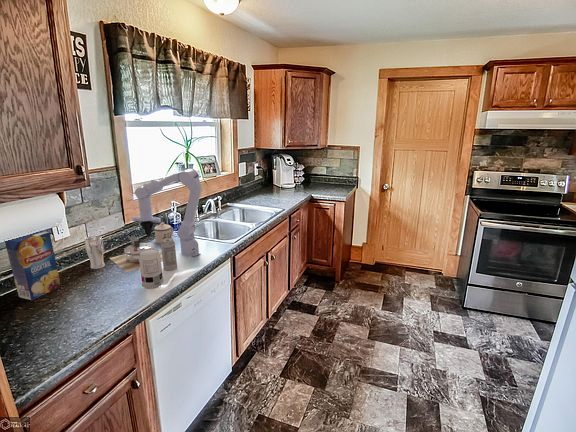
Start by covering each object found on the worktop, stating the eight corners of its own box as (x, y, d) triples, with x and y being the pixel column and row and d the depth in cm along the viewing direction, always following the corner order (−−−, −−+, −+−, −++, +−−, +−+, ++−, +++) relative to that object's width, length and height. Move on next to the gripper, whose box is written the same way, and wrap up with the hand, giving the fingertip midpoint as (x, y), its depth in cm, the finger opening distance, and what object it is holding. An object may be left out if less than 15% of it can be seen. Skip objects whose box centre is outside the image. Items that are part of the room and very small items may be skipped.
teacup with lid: (164, 246, 182) (162, 226, 179) (152, 243, 186) (149, 223, 183) (179, 239, 193) (177, 220, 189) (167, 237, 196) (165, 218, 193)
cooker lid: (158, 250, 162) (157, 244, 161) (128, 257, 153) (127, 250, 152) (146, 239, 176) (146, 233, 175) (118, 245, 168) (118, 239, 167)
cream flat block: (159, 261, 161) (158, 252, 159) (130, 267, 153) (129, 258, 152) (149, 248, 176) (148, 240, 174) (122, 254, 168) (121, 246, 167)
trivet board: (172, 260, 164) (172, 258, 164) (126, 274, 149) (126, 272, 149) (152, 248, 179) (152, 246, 179) (109, 260, 164) (109, 258, 164)
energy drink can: (176, 266, 157) (173, 236, 153) (178, 271, 152) (175, 241, 148) (163, 268, 155) (160, 238, 151) (164, 273, 150) (160, 243, 146)
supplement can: (138, 287, 138) (133, 254, 133) (152, 278, 145) (148, 247, 141) (153, 291, 135) (149, 257, 131) (167, 282, 142) (164, 249, 138)
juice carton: (31, 300, 127) (18, 242, 121) (18, 297, 130) (4, 239, 123) (61, 286, 138) (50, 232, 131) (48, 283, 140) (36, 230, 134)
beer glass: (86, 269, 153) (80, 239, 149) (99, 263, 159) (94, 234, 155) (96, 272, 151) (91, 241, 147) (109, 266, 157) (105, 236, 153)
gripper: (127, 211, 165) (131, 236, 168) (154, 212, 163) (158, 238, 167) (135, 207, 171) (139, 232, 175) (162, 208, 170) (164, 233, 173)
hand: (148, 234), depth 171 cm, fingers closed
